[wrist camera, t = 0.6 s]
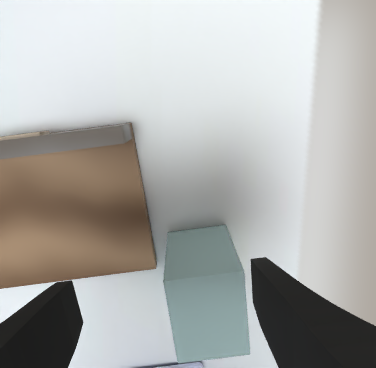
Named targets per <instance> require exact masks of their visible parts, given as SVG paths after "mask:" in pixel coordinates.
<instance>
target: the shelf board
mask: <svg viewBox="0 0 376 368" xmlns="http://www.w3.org/2000/svg"><path fill="white" fill-rule="evenodd" d="M156 265H157V261H156V255H155V250H154V244H153V239H152V233H151V228H150V222H149V216H148V211H147V205H146V200H145V194H144V189H143V183H142V178H141V172H140V167H139V161H138V156H137V150H136V145H135V139H134V134H133V128H132V123H124V124H116V125H108V126H101V127H93V128H85V129H77V130H70V131H62V132H54V133H50V132H49V131H41V132H34V133H26V134H18V135H10V136H3V137H0V289H2V288H10V287H18V286H25V285H33V284H41V283H49V282H56V281H64V280H72V279H80V278H88V277H95V276H103V275H111V274H119V273H126V272H134V271H142V270H150V269H156Z"/></svg>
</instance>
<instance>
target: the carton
mask: <svg viewBox="0 0 376 368" xmlns="http://www.w3.org/2000/svg"><path fill="white" fill-rule="evenodd" d="M163 282H164V288H165V293H166V299H167V305H168V310H169V316H170V321H171V327H172V333H173V338H174V344H175V350H176V355H177V361H178V363H186V362H194V361H202V360H210V359H218V358H226V357H234V356H241V355H249V354H250V345H249V332H248V318H247V304H246V290H245V277H244V270H243V267H242V265H241V262H240V260H239V257H238V255H237V252H236V250H235V247H234V245H233V242H232V240H231V237H230V235H229V232H228V230H227V227H226V225H221V226H213V227H205V228H198V229H190V230H182V231H174V232H168V237H167V247H166V258H165V269H164V280H163Z"/></svg>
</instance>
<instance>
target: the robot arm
mask: <svg viewBox="0 0 376 368" xmlns="http://www.w3.org/2000/svg"><path fill="white" fill-rule="evenodd" d="M251 275H252V294H253V304H254V307H255V310H256V314H257V317H258V320H259V323H260V326H261V329H262V331H263V333H264V336H265V338H266V340H267V342H268V345H269V347H270V349H271V351H272V354H273V356H274V358H275V360H276V363H277V365H278V367H279V368H376V326H374V325H372V324H370V323H368V322H366V321H364V320H362V319H360V318H358V317H356V316H355V315H353V314H351V313H349V312H347V311H345V310H343V309H341V308H340V307H338V306H336V305H334V304H333V303H331V302H329V301H328V300H326V299H324V298H323V297H321V296H320V295H318V294H316V293H315V292H313V291H312V290H310V289H309V288H307V287H306V286H304V285H303V284H302V283H300V282H299V281H297V280H296V279H294V278H293V277H292V276H290V275H289V274H288V273H286V272H285V271H284V270H282V269H281V268H280V267H278V266H277V265H276V264H274V263H273V262H272V261H270V260H269V259H267V258H266V257H264V258H256V259H251ZM82 325H83V319H82V316H81V312H80V308H79V305H78V301H77V297H76V294H75V290H74V286H73V282H72V281H64V282H57V283H55V284H53V285H52V286H50V287H49V288H48V289H46V290H45V291H43V292H42V293H41V294H39V295H38V296H37V297H35V298H34V299H33V300H31V301H30V302H29V303H27V304H26V305H25V306H23V307H22V308H21V309H19V310H18V311H17V312H15V313H14V314H13V315H12V316H10V317H9V318H8V319H6V320H5V321H3V322H2V323H1V324H0V368H68V366H69V364H70V361H71V359H72V356H73V354H74V352H75V349H76V346H77V343H78V339H79V336H80V333H81V329H82ZM155 368H203V365H202V363H200V362H194V363H186V364H178V365H171V366H163V367H155Z"/></svg>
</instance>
